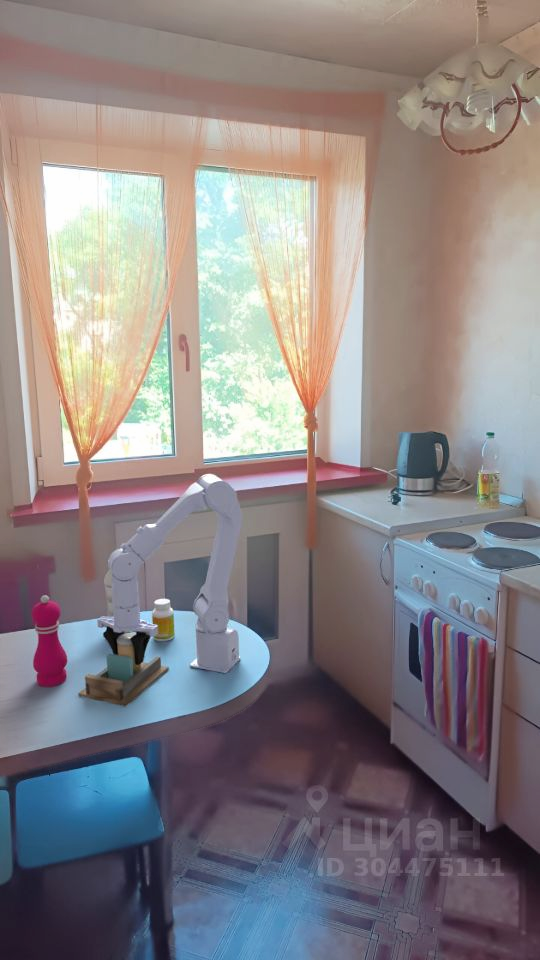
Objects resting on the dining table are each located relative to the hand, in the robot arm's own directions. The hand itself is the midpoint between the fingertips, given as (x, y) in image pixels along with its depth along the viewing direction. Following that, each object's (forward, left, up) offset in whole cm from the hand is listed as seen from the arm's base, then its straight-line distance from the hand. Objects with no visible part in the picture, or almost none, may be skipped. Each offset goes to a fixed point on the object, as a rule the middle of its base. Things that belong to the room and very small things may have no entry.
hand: (129, 661), depth 145 cm
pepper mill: (+16, +7, -4) cm, 18 cm away
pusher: (0, +4, -3) cm, 5 cm away
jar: (0, 0, -2) cm, 2 cm away
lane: (0, +2, -4) cm, 5 cm away
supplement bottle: (+4, -21, -4) cm, 22 cm away
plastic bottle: (+16, -19, -4) cm, 25 cm away
